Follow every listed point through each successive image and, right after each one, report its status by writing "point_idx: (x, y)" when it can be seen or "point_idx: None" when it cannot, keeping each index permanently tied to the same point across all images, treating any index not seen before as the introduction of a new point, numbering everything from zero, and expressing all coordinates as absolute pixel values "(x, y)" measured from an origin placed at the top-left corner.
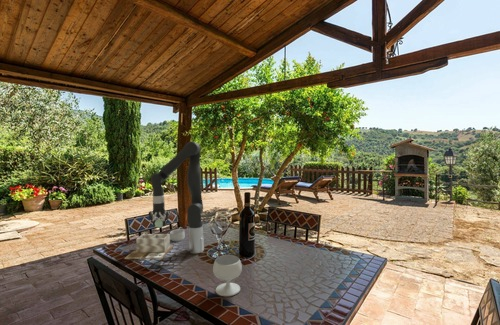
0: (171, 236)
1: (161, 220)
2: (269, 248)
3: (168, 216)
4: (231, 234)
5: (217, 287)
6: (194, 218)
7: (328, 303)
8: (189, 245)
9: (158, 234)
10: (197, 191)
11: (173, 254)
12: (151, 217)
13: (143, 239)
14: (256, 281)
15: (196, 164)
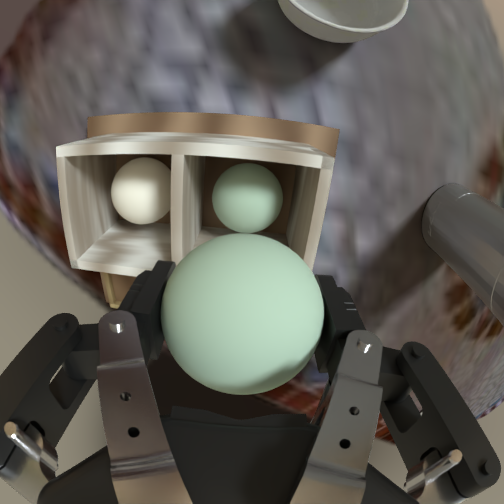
0: (296, 17)
1: (293, 376)
2: None
3: (444, 392)
4: None
5: (421, 414)
6: None
7: (498, 400)
8: (440, 244)
9: (209, 155)
10: None
11: (342, 243)
12: (49, 355)
13: (126, 273)
14: (480, 383)
15: None
